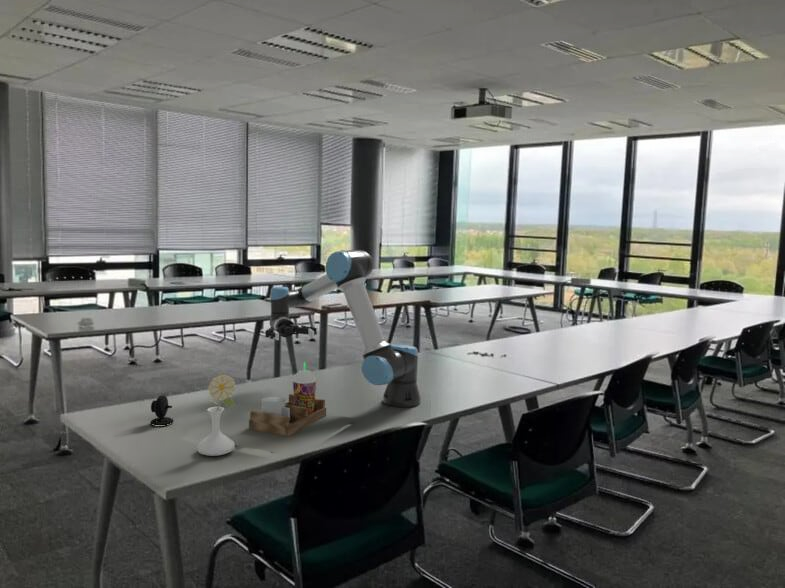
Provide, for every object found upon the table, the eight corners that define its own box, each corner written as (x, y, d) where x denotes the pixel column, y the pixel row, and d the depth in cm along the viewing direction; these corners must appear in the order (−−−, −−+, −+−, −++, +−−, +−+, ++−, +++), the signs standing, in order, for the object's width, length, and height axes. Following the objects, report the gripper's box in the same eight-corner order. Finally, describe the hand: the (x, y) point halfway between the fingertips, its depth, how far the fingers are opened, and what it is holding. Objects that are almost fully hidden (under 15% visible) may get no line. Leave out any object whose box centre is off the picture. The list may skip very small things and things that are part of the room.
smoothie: (297, 421, 219) (297, 366, 216) (289, 414, 226) (289, 361, 223) (319, 418, 223) (320, 363, 220) (310, 411, 230) (311, 358, 227)
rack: (326, 419, 226) (326, 399, 225) (288, 440, 204) (288, 418, 203) (289, 413, 233) (289, 393, 232) (248, 432, 211) (248, 411, 210)
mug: (256, 426, 212) (256, 401, 211) (270, 420, 220) (270, 395, 218) (282, 431, 208) (282, 405, 207) (295, 424, 215) (295, 399, 214)
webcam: (155, 419, 222) (155, 392, 221) (176, 420, 222) (176, 393, 220) (146, 426, 214) (145, 398, 213) (168, 427, 214) (167, 399, 213)
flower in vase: (188, 455, 190) (187, 375, 187) (212, 443, 200) (211, 367, 197) (224, 462, 185) (224, 380, 182) (246, 449, 196) (246, 371, 193)
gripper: (314, 334, 262) (327, 343, 242) (254, 338, 253) (262, 347, 233) (314, 316, 261) (327, 324, 241) (253, 319, 252) (262, 327, 232)
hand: (295, 335), depth 237 cm, fingers open, 13 cm apart
